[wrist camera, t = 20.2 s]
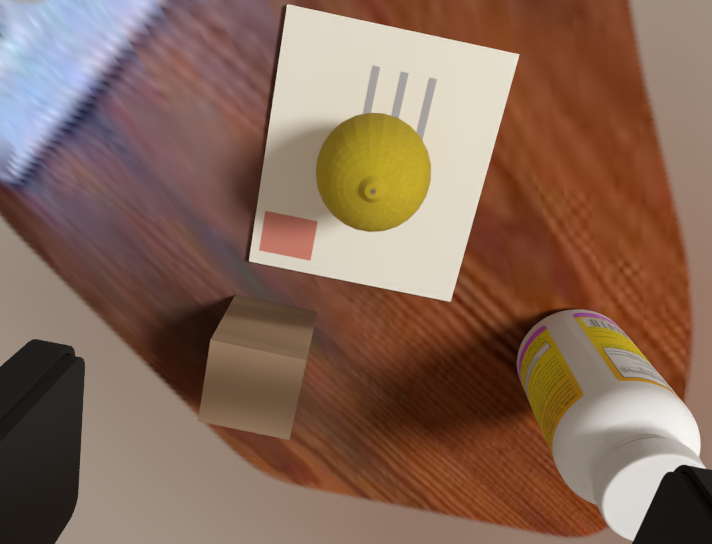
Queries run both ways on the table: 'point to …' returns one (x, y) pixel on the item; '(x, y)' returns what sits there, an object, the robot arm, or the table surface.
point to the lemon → (373, 172)
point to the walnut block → (257, 367)
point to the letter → (392, 97)
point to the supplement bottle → (605, 414)
